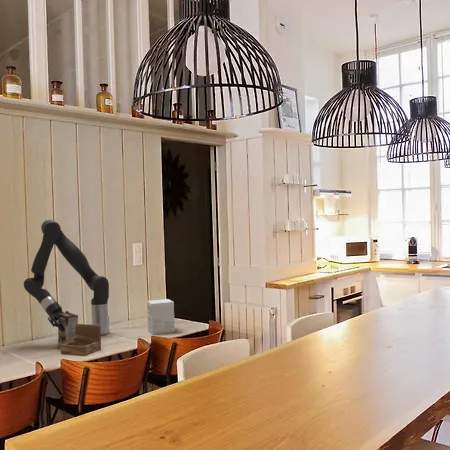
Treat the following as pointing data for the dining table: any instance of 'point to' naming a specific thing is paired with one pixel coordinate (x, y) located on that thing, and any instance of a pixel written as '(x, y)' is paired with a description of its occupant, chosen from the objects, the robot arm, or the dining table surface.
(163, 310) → the supplement box
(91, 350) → the open walnut box
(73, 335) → the coffee box
